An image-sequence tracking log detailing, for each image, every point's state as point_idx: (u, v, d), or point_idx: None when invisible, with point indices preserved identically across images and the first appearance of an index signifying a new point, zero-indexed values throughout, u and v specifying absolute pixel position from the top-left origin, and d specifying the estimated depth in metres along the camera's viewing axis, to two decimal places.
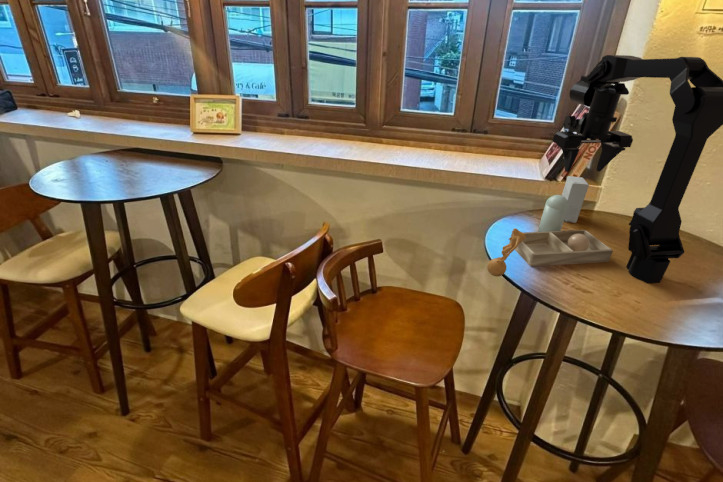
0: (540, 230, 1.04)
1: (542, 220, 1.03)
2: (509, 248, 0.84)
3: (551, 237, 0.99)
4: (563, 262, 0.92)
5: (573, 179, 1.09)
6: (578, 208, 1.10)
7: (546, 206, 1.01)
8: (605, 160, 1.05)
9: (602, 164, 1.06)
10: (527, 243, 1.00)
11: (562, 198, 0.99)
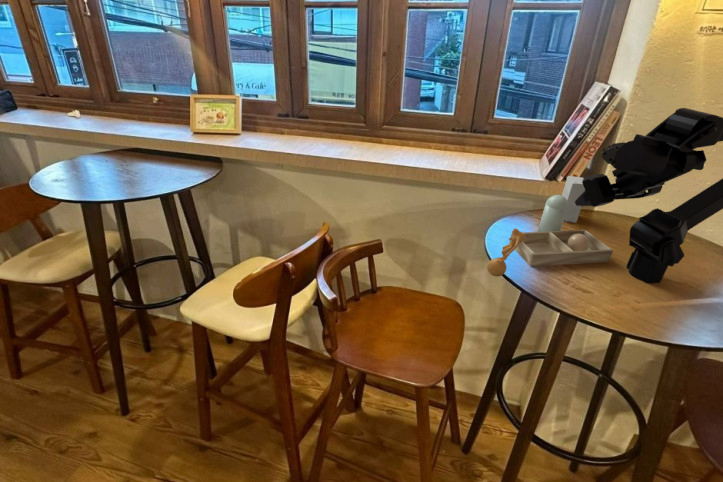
0: (540, 230, 1.04)
1: (542, 220, 1.03)
2: (509, 248, 0.84)
3: (551, 237, 0.99)
4: (563, 262, 0.92)
5: (573, 179, 1.09)
6: (578, 208, 1.10)
7: (546, 206, 1.01)
8: (619, 197, 0.91)
9: None
10: (527, 243, 1.00)
11: (562, 198, 0.99)
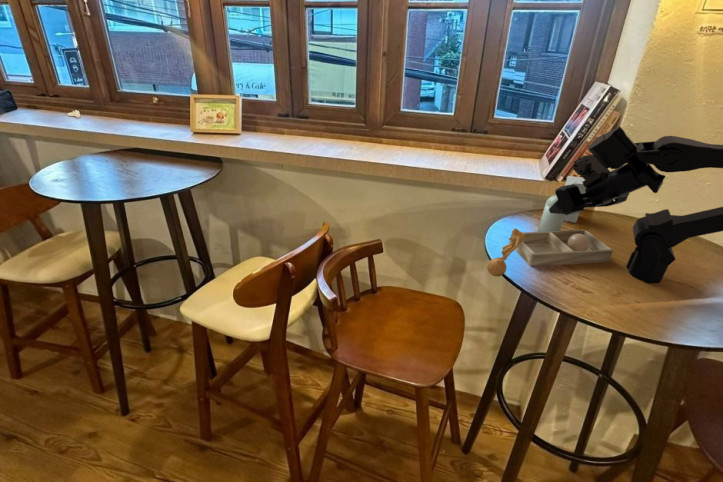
0: (540, 230, 1.04)
1: (542, 220, 1.03)
2: (509, 248, 0.84)
3: (551, 237, 0.99)
4: (563, 262, 0.92)
5: (573, 179, 1.09)
6: None
7: (546, 206, 1.01)
8: (589, 205, 0.98)
9: (584, 205, 0.99)
10: (527, 243, 1.00)
11: None
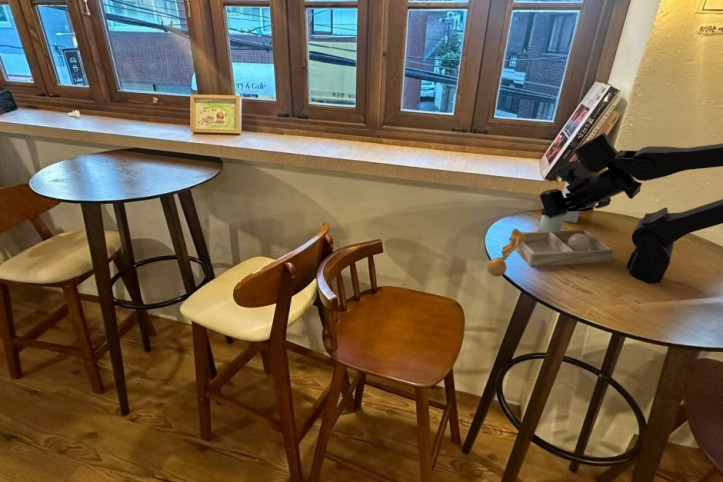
0: (540, 230, 1.04)
1: (542, 220, 1.03)
2: (509, 248, 0.84)
3: (551, 237, 0.99)
4: (563, 262, 0.92)
5: None
6: None
7: None
8: (569, 209, 1.01)
9: None
10: (527, 243, 1.00)
11: None
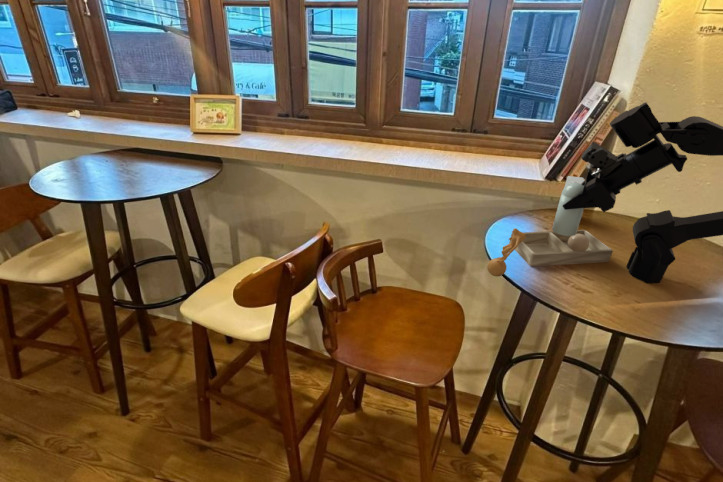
0: (562, 226, 0.91)
1: (563, 215, 0.90)
2: (509, 248, 0.84)
3: (551, 237, 0.99)
4: (563, 262, 0.92)
5: (573, 179, 1.09)
6: None
7: (568, 198, 0.88)
8: None
9: None
10: (527, 243, 1.00)
11: (582, 185, 0.88)
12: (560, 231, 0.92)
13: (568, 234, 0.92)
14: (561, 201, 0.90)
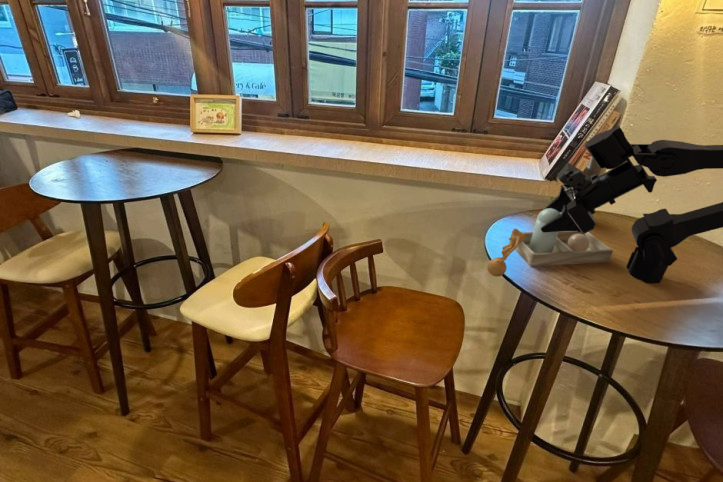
0: (538, 250, 0.93)
1: (540, 239, 0.92)
2: (509, 248, 0.84)
3: None
4: (563, 262, 0.92)
5: None
6: None
7: (544, 224, 0.90)
8: None
9: None
10: (527, 243, 1.00)
11: (557, 211, 0.90)
12: None
13: None
14: (537, 226, 0.92)
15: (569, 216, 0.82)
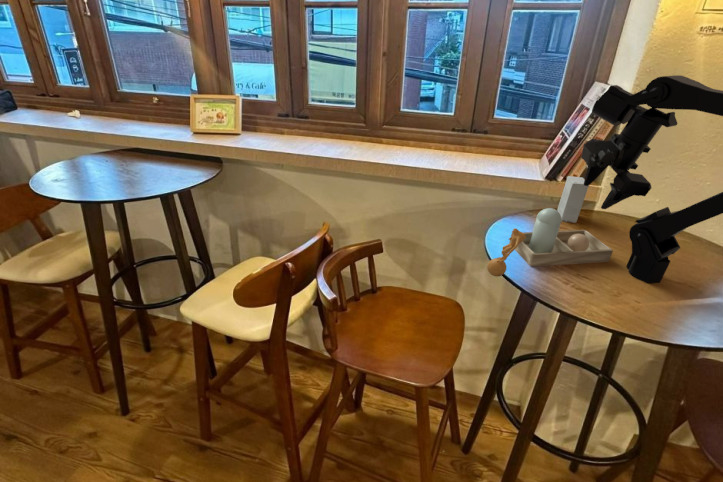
0: (538, 250, 0.93)
1: (539, 239, 0.92)
2: (509, 248, 0.84)
3: None
4: (563, 262, 0.92)
5: (573, 179, 1.09)
6: (578, 208, 1.10)
7: (544, 224, 0.90)
8: (597, 174, 0.96)
9: (593, 178, 0.97)
10: (527, 243, 1.00)
11: (556, 211, 0.90)
12: None
13: None
14: (537, 226, 0.92)
15: None
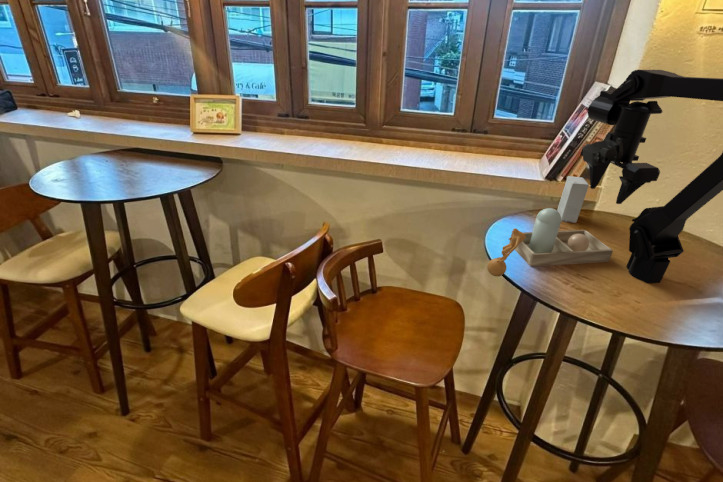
0: (538, 250, 0.93)
1: (539, 239, 0.92)
2: (509, 248, 0.84)
3: None
4: (563, 262, 0.92)
5: (573, 179, 1.09)
6: (578, 208, 1.10)
7: (543, 224, 0.90)
8: (601, 175, 1.00)
9: (598, 180, 1.00)
10: (527, 243, 1.00)
11: (556, 211, 0.90)
12: None
13: None
14: (536, 226, 0.92)
15: (635, 181, 0.87)
